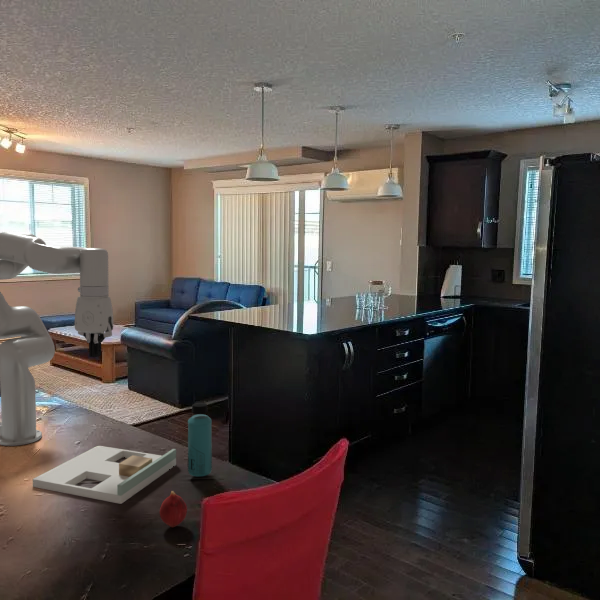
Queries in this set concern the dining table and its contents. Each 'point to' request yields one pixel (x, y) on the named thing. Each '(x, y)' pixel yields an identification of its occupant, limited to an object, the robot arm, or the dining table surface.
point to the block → (133, 465)
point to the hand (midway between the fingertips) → (95, 356)
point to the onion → (173, 510)
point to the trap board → (104, 474)
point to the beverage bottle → (199, 441)
